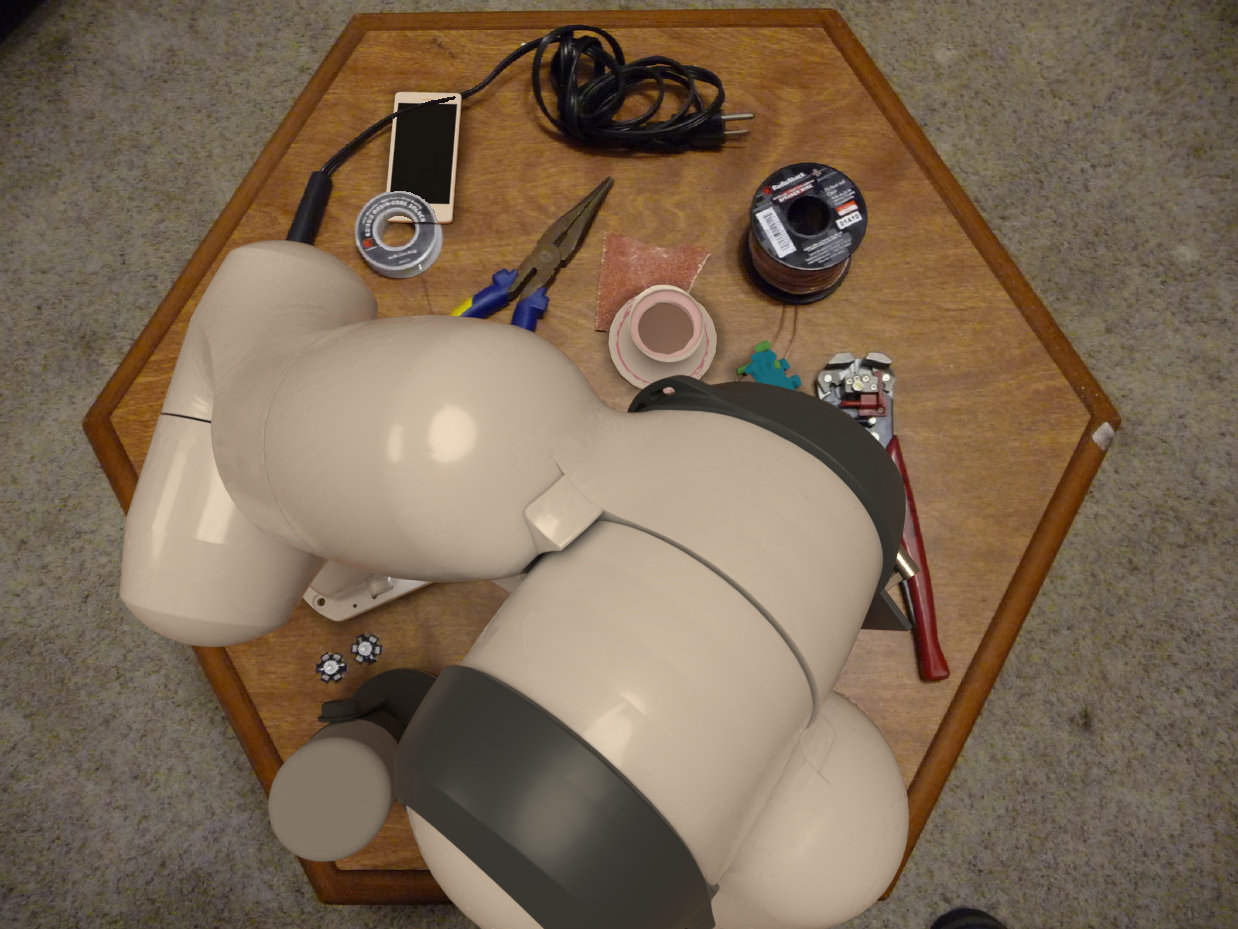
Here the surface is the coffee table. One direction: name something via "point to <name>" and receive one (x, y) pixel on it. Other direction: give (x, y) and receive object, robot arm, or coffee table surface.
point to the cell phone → (425, 151)
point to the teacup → (662, 337)
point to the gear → (769, 368)
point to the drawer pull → (883, 606)
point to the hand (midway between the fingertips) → (759, 610)
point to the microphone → (346, 769)
